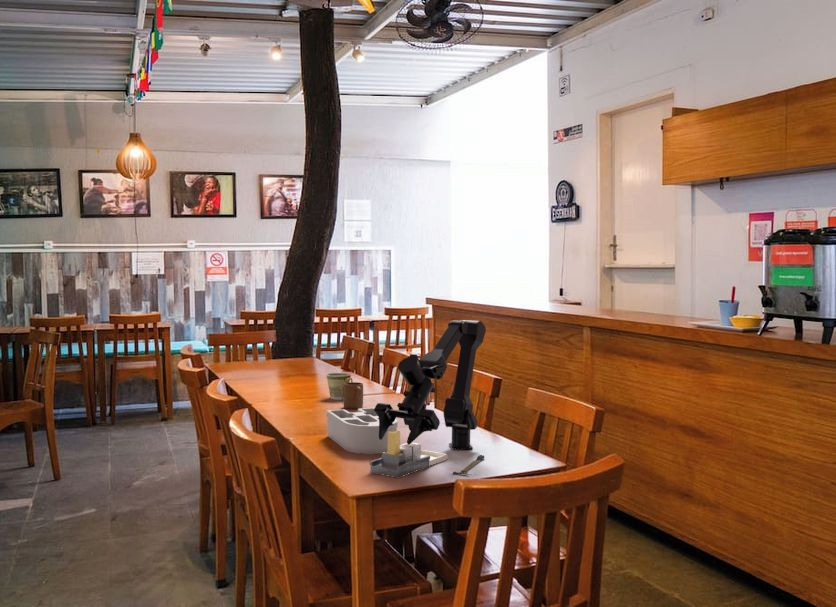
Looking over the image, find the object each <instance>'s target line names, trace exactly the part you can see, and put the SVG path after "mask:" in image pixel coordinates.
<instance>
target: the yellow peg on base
mask: <svg viewBox="0 0 836 607" xmlns="http://www.w3.org/2000/svg"><path fill="white" fill-rule="evenodd" d="M400 445H401V431H398V430H397V431H394V430H392V431H389V432H388V449H387V452H385V453H381V458H382V465H388V466H393V467H397V466H400V465H403V464H405V454H401V453H400Z"/></svg>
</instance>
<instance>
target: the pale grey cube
mask: <svg viewBox="0 0 836 607" xmlns="http://www.w3.org/2000/svg"><path fill="white" fill-rule="evenodd" d="M400 453H401V454H405V463H408V462H411V461H412V447H409V446H403V445H402V444H400Z"/></svg>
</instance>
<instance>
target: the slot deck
mask: <svg viewBox="0 0 836 607" xmlns="http://www.w3.org/2000/svg"><path fill="white" fill-rule="evenodd" d="M429 460H430V456H425V457H422V458H419V459H417V460H414V461H411V462H408V463H405V464H403V465H400V466H397V467H393V466H388V465H382V457H378V458H376V459H373V460H371V461H369V466H370V474H374V473H377V474H376V475H379V474H384V475H389V476H393V477H392V478H394V477H400V476H403V475H405V476H407V475H406V474H408V473H411V472H413V473H415V472H414V471H416V470H419V469H421V470H423V469H422V468H424V469H426V468H428V466H429ZM425 467H426V468H425ZM429 467H430V466H429ZM419 471H420V470H419ZM416 472H417V471H416ZM411 474H412V473H411ZM384 475H383V476H384ZM408 475H409V474H408ZM389 476H388V477H389ZM403 477H404V476H403ZM400 478H401V477H400Z"/></svg>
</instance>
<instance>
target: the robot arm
mask: <svg viewBox="0 0 836 607" xmlns="http://www.w3.org/2000/svg"><path fill="white" fill-rule="evenodd" d="M486 332H487V330H486V325H485V324H484V323H483V321H482V320H467V319H466V320H465V319H462V320H456V319H453V320H450V321H449V322H448V325H447V328H446V330H445V331H444V333H443V334H442V336H441V337H440V338H439V340H438V341H437V343H436V344H435V346H434V348H433V349H431V351H429V352H427V353H425V354H424V355H423V356H422V357H421V358H420V359H419V356H418V354H414V353H411V354H409V356H407V357H405V358H403V359H402V360H400V361H399V363H398V365H397V368H398V371H399V372H400V375H401V376H402V377H403V379H404V381H405V383H406V384H408V385H410V386H409V388H408V390H404V392H403V393H402V394H403V396H404V398H403V399H402V402H398V403H397V405H396V406H397V408H398V409H393V407H392V406H391V404H390V403H384V402H379V403H378V402H377V403H376V405H375V406H374V407H373V408H374V411H375V412H376V414H377V415H378V417H379V439H380V440H382V438H383V437H384V435H385V433H386V431H387V429H388V428H389V426H391V425H393V423H392V422H394V421H395V419H397V418H398V419H403V422H404V425H405V426H408V430H409V433H408V437H407V441H406V443H407V444H408V445H410V444H411V443H414V441H415V440H416V439H417V438H418V437H419V436H421V435H422V434H423V433H425V432H433V431H434V430H435V431H437V430H438V429H439V426H440V423H441V421H440V419H439V418H438V416H437V413H436V412H435V411H434V410H433V409H427V407H428V406H427V403H426V402H427V400H428V397H429V396H430V393H433V394H435V393H436V387H435V383H434V382H432V380H441V379H442V378H443V377H444V375H445V372H446V371H447V368H448V364H447V363H448V362H447V360H448V358H449V357H450V355H451V354H452V353H453V350H454V349H455V348H456V346H457V344H459V346H460V347H459V348H460V349H459V355H458V362H457V366H456V373H455V374H456V375H455V379H454V380H455V381H454V387H453V393H452V394H451V395H450V397H446V399H445V401H444V407H443V419H444V425H445V428H451V443H448V446H449V448H451V450H473V449H474V447H473V445H471V431H472V430H476V429H477V428H478V422H479V421H478V419H477V417H476V416H475V414H474V412H473V408H474V405H473V403H472V400H471V397H470V394H471V393H470V391H471V386H472V381H473V380H472V379H473V373H474V367H475V361H476V360H475V359H476V353H477V350H478V349H479V348H480V346H481V345H482V344H483V342H484V338H485V334H486Z"/></svg>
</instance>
